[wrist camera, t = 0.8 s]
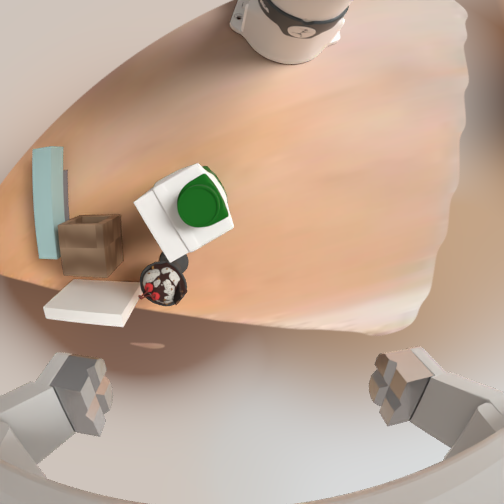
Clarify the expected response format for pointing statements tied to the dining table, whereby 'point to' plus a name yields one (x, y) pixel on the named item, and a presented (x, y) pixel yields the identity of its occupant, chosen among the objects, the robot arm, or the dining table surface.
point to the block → (91, 245)
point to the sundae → (164, 281)
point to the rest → (65, 194)
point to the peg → (48, 199)
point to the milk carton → (186, 210)
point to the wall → (94, 302)
